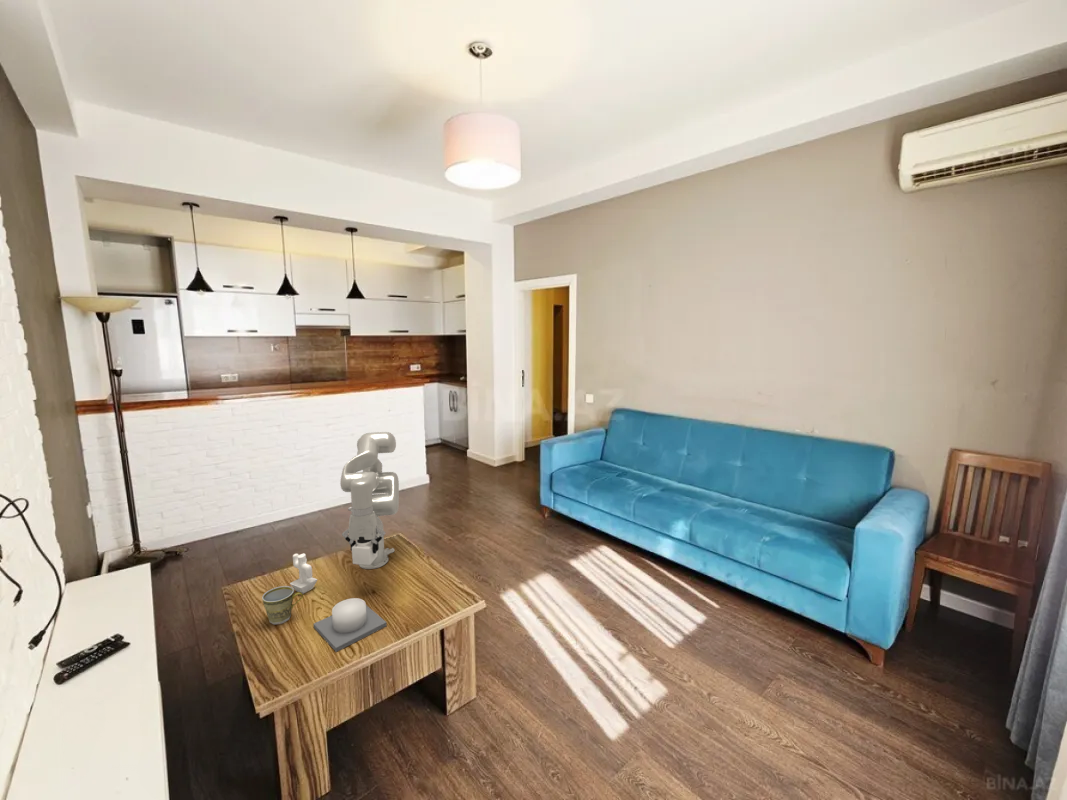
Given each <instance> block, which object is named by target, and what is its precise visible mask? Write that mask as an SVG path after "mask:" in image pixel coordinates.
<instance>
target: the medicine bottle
mask: <svg viewBox="0 0 1067 800" xmlns="http://www.w3.org/2000/svg"><path fill="white" fill-rule="evenodd" d="M355 541H356V544H355V545H354V546H353V547H352V551H351V557H352V564H353V565H359V564H361V565H370V564H371V563H372V562H373V561H374V560H375V558H376V557H377V556H378V551H377V552H376V554H374V553H373V544H374V542H373V541H372V540H365V539H364V537H359V540H355Z"/></svg>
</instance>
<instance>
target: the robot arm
mask: <svg viewBox="0 0 1067 800" xmlns="http://www.w3.org/2000/svg"><path fill="white" fill-rule="evenodd" d="M356 447H357V453H356V455H355V456H354V457H352V458H350V459H349V460H348V461H347V462H346V463H345V464H344V466H343V468H342V471H341V477H340V483H339V484H340V489H341V491H342V492H343V493H344V492H345V493H350V496H351V497H350V498H351V506H350V507H349V506H348V509H347V510H348V511H349V512H351V513H350V514H349V520H348V528H347V529H345V530H344V531H343V532H342V534H341V535H342V537H343V538H344V539H345V541H347V542H348V544H349V545H350V551H351V552H352V547H353V546H354V545H355V544H356V540H359V537H364V539H365V540H372V541H373V542H374V544H373V553H374V554H376V552H377V551H378V556H377V557H376V558H375V560H374V561H373V562H372V563H371V564H370V565H361V564H358V566H359V568H362V569H364V570H372V569H378V568H381V567H383V566H385V565H386V564H388V562H389V555H391V554H392V553H394V552H395V548H394V547H393V548H389V547H386V548H385V539H384V537H385V535H386V531H385V530H384V523H383V521H382V519H381V518H380V517H382V516H393V515H396V514H397V513H398V512H399V508H400V507H399V505H400V497H399V496H400V488H399V487H400V483H399V482H400V480H399V476H398V474H397V473H396V472H394V471H386V472H385V471H384V472H383V463H382V462H381V460H380V459H379V458H378V457H379V454H388V453H390V454H392V453H394V452H395V450H396V447H397V440H396V437H395V436H394V434H392V433H391V432H389V431H381V432H379V431H377V432H376V431H375V432H374V431H373V432H367V433H366V432H365V433H363V434H362V435H361V436H360V437H359V438H358V439H357V442H356Z"/></svg>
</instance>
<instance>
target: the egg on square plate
mask: <svg viewBox="0 0 1067 800" xmlns="http://www.w3.org/2000/svg"><path fill="white" fill-rule="evenodd" d="M386 627H387V621H386V620H384V619H383V618H382V617H381V616H380V615H379V614H378V613H376V612H375V611H374V610H373V609H372V608H370V607H369V606H368V605H367V604H366V601H365V600H363V599H362V598H359V597H358V598H357V597H355V598H354V597H351V598H347V599H344V600H342V601H341V600H340V601H339V602H337V603H336V604H335V605H334V606H333V607H332V609H331V615H329V616H328V617H325V618H323V619H321V620H318V621H316V622H313V628H314V631H316V632H317V633H318V634H319V636H321V638H323V639H324V641H326V643H327V644H328V645H329V646H330V648H331V649H333V650H334V652H335V653H337V652H339V651H342V650H343V649H345V648H347V647H349V646H350V645H353V644H354V643H357V642H359V641H360V640H363V639H365V638H366V637H368V636H370V635H372V634H374V633H376V632H378V631H380V630H381V629H384V628H386Z"/></svg>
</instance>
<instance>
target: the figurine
mask: <svg viewBox="0 0 1067 800" xmlns="http://www.w3.org/2000/svg"><path fill="white" fill-rule="evenodd" d="M307 561H308V560H307V555H306V553H304V552H303V553H301V554H299V553H294V554H292V562H293V563H292V564H293V567H294V568H296V569H298V574H299V576H298V577H299V578H297V579H295V580H293V581H292V582H290V583H289V584H290V587H292V588H293V589H294V591H296V593H297V592H301V593H302V594H303V595H304V594H305V593H308V592H309V591H311V590H312V589H314V587H315V585H316V584H317V581H318V578H315V577H313V568H312V567H313V566H312V565H311V564H309V563H307Z"/></svg>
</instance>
